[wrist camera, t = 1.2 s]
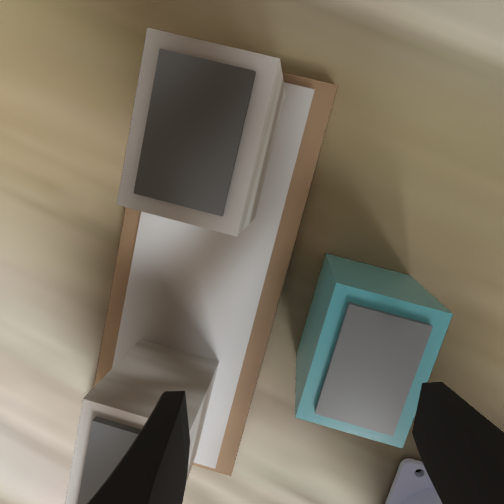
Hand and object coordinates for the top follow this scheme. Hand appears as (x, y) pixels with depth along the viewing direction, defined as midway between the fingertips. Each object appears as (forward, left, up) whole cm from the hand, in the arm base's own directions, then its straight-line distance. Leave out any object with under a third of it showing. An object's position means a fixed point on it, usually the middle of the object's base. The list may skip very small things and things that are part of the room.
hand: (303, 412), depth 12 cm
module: (-3, 0, -10) cm, 10 cm away
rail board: (+6, 0, -10) cm, 11 cm away
